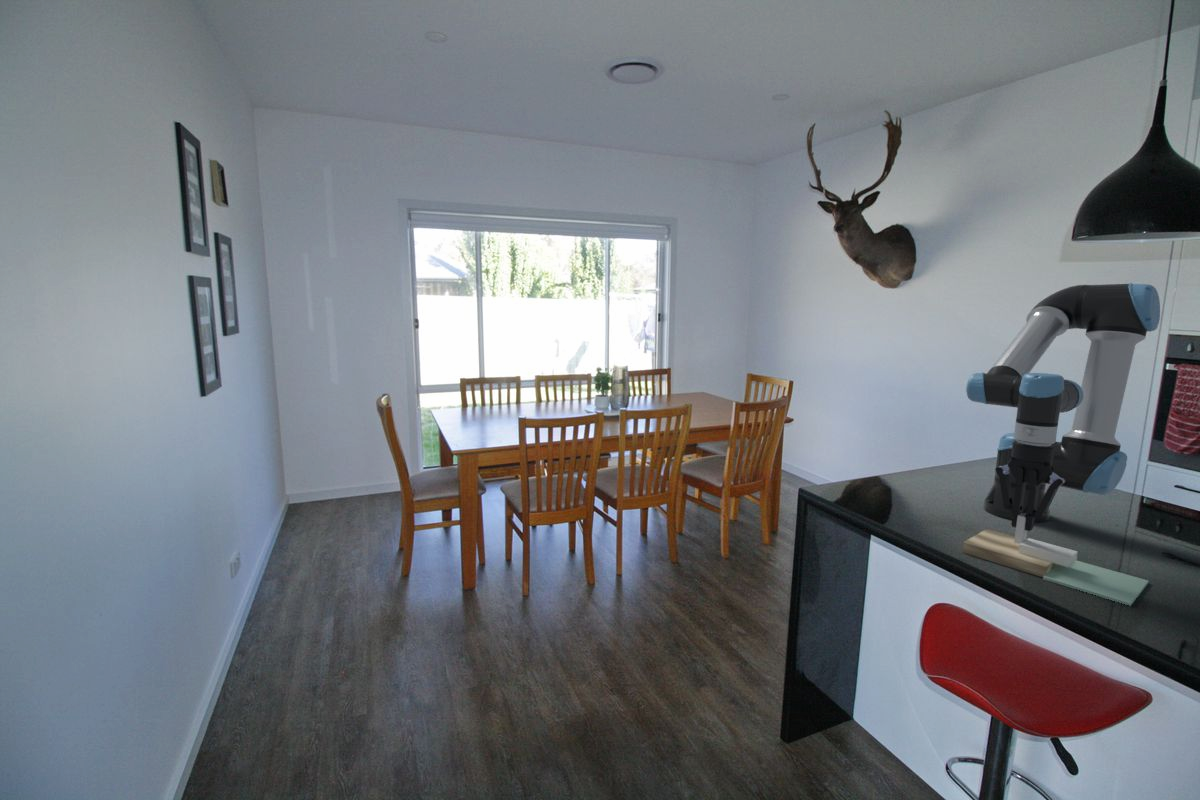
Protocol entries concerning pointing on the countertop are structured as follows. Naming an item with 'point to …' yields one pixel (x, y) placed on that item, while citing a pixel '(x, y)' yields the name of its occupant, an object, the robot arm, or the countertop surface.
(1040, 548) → the white rectangular block
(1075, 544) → the countertop surface
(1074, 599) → the countertop surface
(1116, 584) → the mat
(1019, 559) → the wooden board
